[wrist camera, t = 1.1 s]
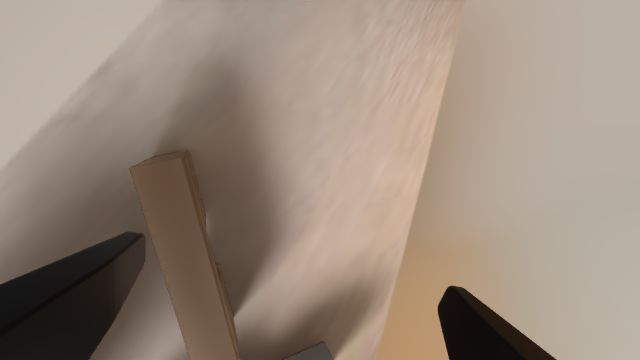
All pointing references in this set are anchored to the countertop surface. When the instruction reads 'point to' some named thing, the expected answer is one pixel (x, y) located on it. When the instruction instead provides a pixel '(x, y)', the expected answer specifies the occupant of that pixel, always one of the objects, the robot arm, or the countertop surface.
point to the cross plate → (186, 255)
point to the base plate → (313, 353)
